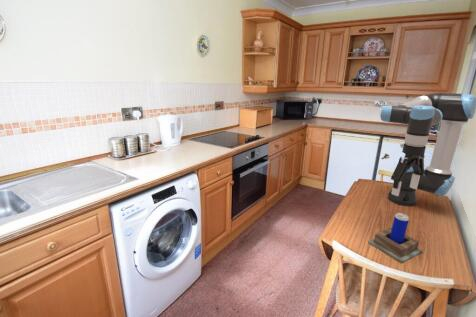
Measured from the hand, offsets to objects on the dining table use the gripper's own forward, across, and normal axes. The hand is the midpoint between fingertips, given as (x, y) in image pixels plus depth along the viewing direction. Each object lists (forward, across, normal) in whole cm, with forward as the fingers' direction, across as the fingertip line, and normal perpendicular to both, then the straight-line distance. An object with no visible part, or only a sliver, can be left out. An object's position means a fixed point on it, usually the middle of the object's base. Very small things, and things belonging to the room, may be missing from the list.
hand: (404, 191), depth 108 cm
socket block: (+25, +6, +4) cm, 26 cm away
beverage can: (+24, +6, +4) cm, 25 cm away
